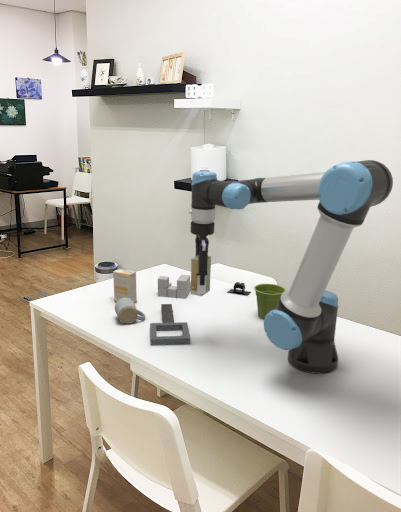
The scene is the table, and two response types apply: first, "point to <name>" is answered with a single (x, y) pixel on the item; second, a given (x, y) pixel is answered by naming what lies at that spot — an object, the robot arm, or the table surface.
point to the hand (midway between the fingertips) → (200, 289)
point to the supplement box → (124, 284)
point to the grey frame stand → (169, 329)
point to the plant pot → (267, 297)
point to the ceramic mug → (128, 311)
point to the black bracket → (239, 292)
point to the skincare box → (195, 277)
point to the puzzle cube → (174, 287)
